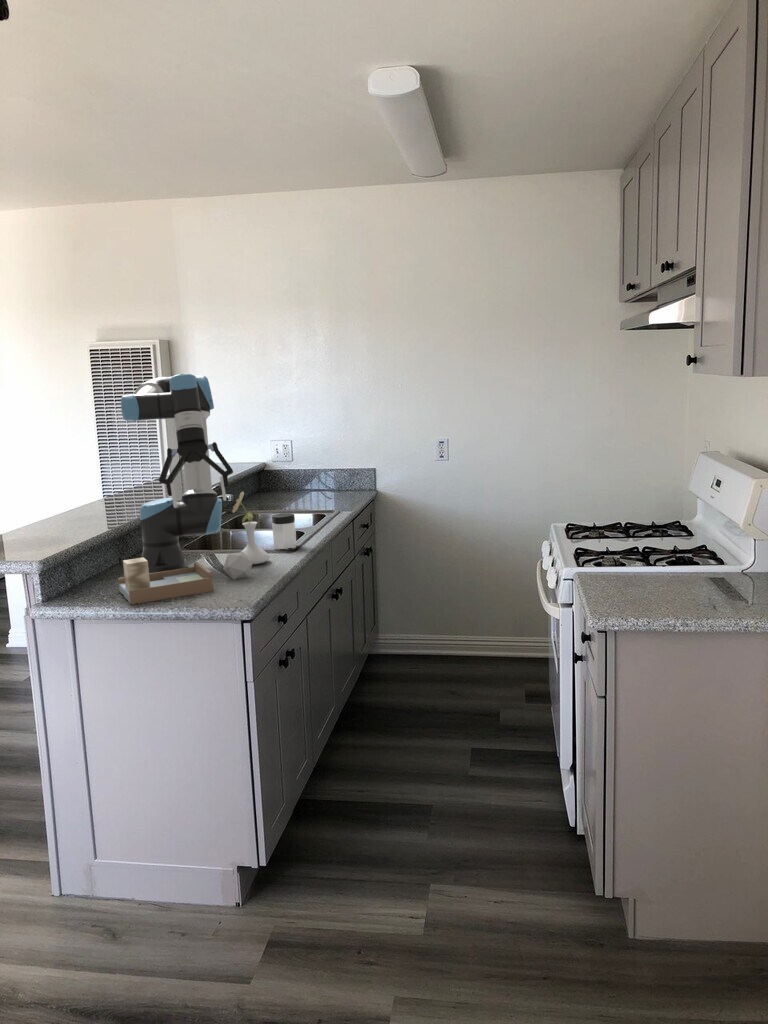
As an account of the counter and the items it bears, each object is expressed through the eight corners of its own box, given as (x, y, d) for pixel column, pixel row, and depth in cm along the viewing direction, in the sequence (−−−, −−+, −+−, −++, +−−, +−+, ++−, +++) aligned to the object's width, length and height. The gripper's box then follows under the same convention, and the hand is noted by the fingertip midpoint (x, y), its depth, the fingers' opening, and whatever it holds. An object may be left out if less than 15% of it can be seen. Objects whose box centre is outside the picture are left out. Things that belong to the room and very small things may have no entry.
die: (247, 574, 264) (227, 552, 262) (262, 564, 258) (242, 541, 257) (233, 589, 257) (213, 567, 256) (248, 579, 252) (227, 556, 250)
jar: (296, 549, 295) (293, 516, 293) (273, 550, 295) (270, 517, 293) (297, 544, 304) (295, 512, 302) (275, 545, 304) (272, 513, 302)
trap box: (130, 604, 233) (128, 585, 232) (119, 591, 248) (117, 573, 247) (213, 590, 243) (212, 572, 242) (197, 578, 259) (196, 561, 258)
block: (129, 591, 238) (126, 564, 236) (125, 586, 243) (122, 560, 242) (150, 587, 241) (147, 561, 239) (146, 583, 246) (143, 557, 244)
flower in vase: (247, 558, 284) (241, 487, 280) (276, 560, 279) (270, 487, 275) (226, 567, 272) (220, 493, 268) (256, 569, 268) (250, 493, 263)
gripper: (142, 432, 225) (152, 508, 223) (233, 420, 228) (244, 495, 226) (146, 437, 232) (156, 511, 230) (235, 426, 236) (245, 498, 234)
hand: (200, 503), depth 228 cm, fingers open, 13 cm apart
